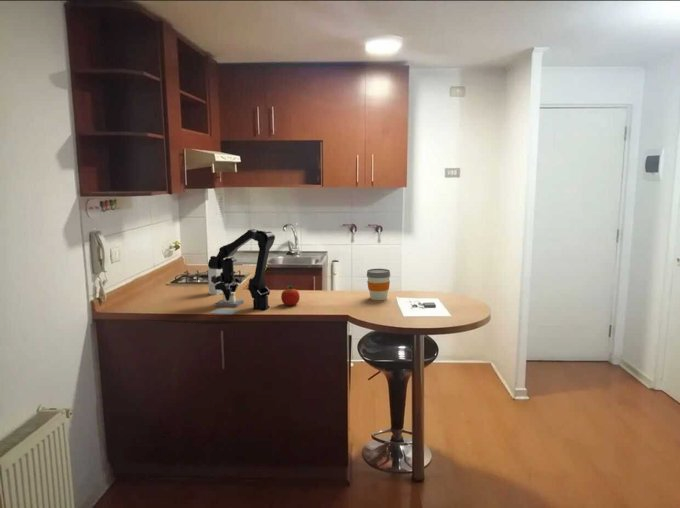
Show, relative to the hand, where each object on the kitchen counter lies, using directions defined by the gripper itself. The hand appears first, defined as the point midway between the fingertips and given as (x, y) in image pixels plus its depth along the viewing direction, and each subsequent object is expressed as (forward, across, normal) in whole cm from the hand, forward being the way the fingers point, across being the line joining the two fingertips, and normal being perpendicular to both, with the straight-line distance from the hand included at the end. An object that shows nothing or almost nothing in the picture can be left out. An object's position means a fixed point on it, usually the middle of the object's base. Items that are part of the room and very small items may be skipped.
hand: (229, 299), depth 261 cm
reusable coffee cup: (+3, -29, +73) cm, 79 cm away
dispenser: (+3, 0, 0) cm, 3 cm away
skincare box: (+3, -23, -19) cm, 30 cm away
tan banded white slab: (+3, 0, 0) cm, 3 cm away
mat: (+3, +13, +4) cm, 14 cm away
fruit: (+3, -7, +31) cm, 32 cm away
